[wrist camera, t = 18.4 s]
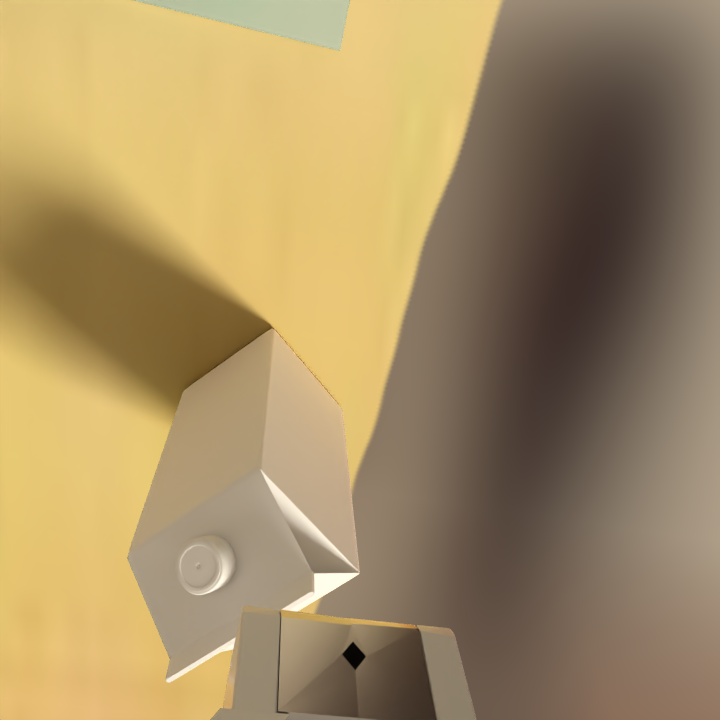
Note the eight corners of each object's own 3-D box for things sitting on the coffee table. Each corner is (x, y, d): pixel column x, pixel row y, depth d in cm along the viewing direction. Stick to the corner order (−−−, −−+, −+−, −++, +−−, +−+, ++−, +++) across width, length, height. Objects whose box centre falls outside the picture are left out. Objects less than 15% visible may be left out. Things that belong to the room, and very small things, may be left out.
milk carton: (343, 407, 44) (368, 646, 27) (255, 466, 45) (226, 729, 28) (273, 325, 41) (251, 532, 24) (182, 390, 42) (99, 629, 25)
